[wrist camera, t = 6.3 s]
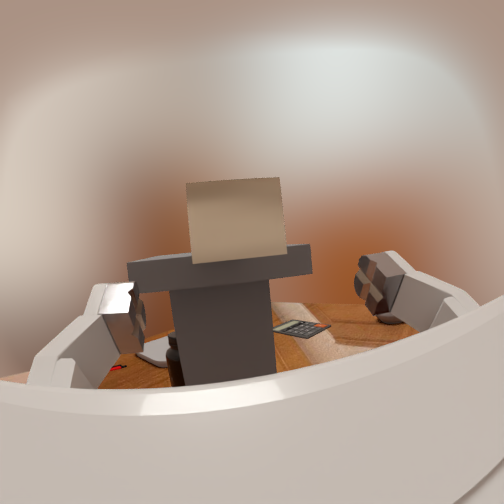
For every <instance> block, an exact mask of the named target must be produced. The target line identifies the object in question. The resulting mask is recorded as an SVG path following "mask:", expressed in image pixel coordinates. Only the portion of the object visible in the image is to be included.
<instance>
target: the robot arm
mask: <svg viewBox="0 0 504 504" xmlns="http://www.w3.org/2000/svg"><path fill="white" fill-rule="evenodd" d="M358 266H359V268H360V270H359V271H358V272H357V273H356V275H355V279H354V287H355V291H356V293H357V295H358V296H359V297H360V298H362V299H364V300H366V302H365V305H366V307H367V308H368V310H369V311H370V312H371V314H372V315H373V316H375V315H380V314H384V313H388V312H390V313H391V314H393V315H394V316H396V317H397V318H399V319H400V320H402V321H404V322H405V323H407V324H408V325H410V326H411V327H413V328H414V329H416V330H417V331H419V332H420V333H418V334H415V335H413V336H410V337H407V338H404V339H401V340H399V341H396V342H393V343H390V344H387V345H384V346H381V347H378V348H375V349H371V350H368V351H365V352H361V353H358V354H355V355H351V356H348V357H344V358H340V359H337V360H333V361H329V362H325V363H321V364H317V365H313V366H308V367H304V368H300V369H295V370H290V371H286V372H281V373H275V374H270V375H265V376H259V377H253V378H247V379H241V380H234V381H227V382H219V383H211V384H202V385H193V386H182V387H168V388H151V389H97V388H98V386H99V385H100V383H101V382H102V381H103V379H104V378H105V376H106V375H107V373H108V372H109V371H110V369H111V368H112V366H113V365H114V364H115V362H116V361H117V359H118V358H119V357H120V354H128V353H140V352H143V351H144V339H145V337H144V334H143V330H144V329H145V326H146V316H145V309H144V304H143V301H142V300H140V299H139V292H140V291H139V287H138V284H137V282H136V281H131V282H117V283H104V284H96V285H94V286H93V289H92V291H91V294H90V297H89V300H88V303H87V306H86V309H85V312H84V315H83V316H79V317H78V318H76V319H75V320H74V321H73V322H72V323H71V324H70V325H69V326H67V327H66V328H65V329H64V330H63V331H62V332H61V333H60V334H58V335H57V336H56V337H55V338H54V339H53V340H52V341H51V342H50V343H49V344H48V345H46V346H45V347H44V348H43V349H42V350H41V351H40V352H39V353H38V354H37V355H36V356H35V358H34V361H33V364H32V367H31V370H30V373H29V376H28V380H27V383H26V384H22V383H15V382H9V381H3V380H0V504H504V295H502V296H500V297H498V298H496V299H495V300H493V301H491V302H489V303H487V304H485V305H483V306H481V307H480V306H479V305H478V304H477V303H476V302H475V301H474V300H473V299H472V298H471V297H470V296H469V295H468V294H467V293H466V292H465V291H464V290H462V289H460V288H457V287H455V286H453V285H451V284H448V283H446V282H443V281H441V280H439V279H437V278H434V277H432V276H429V275H427V274H425V273H422V272H420V271H418V272H417V271H415V270H414V269H413V268H412V267H411V266H410V265H409V264H408V263H407V262H406V261H405V260H404V259H403V258H402V257H401V256H400V255H399V254H397V253H396V252H395V251H387V252H382V253H377V254H370V255H363V256H361V258H360V259H359V263H358Z"/></svg>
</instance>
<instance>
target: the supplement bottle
mask: <svg viewBox="0 0 504 504" xmlns="http://www.w3.org/2000/svg"><path fill="white" fill-rule="evenodd" d="M168 341H169V342H168V344H169V346H170V348H169V349H168V350H167V351H166V361H167V367H168V372H169V377H170V382H171V386H172V387H182V386H185V381H184V376H183V371H182V366H181V361H180V356H179V350H178V345H177V339H176V333H175V332H171V333H170V334H168Z"/></svg>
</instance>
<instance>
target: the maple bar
mask: <svg viewBox="0 0 504 504" xmlns="http://www.w3.org/2000/svg"><path fill="white" fill-rule="evenodd" d="M186 192H187V207H188V220H189V230H190V241H191V252H192V262H193V264H197V263H207V262H217V261H226V260H236V259H245V258H254V257H264V256H273V255H282V254H287V246H286V235H285V225H284V215H283V206H282V197H281V187H280V179H279V177H277V178H254V179H236V180H221V181H208V182H196V183H186Z"/></svg>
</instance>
